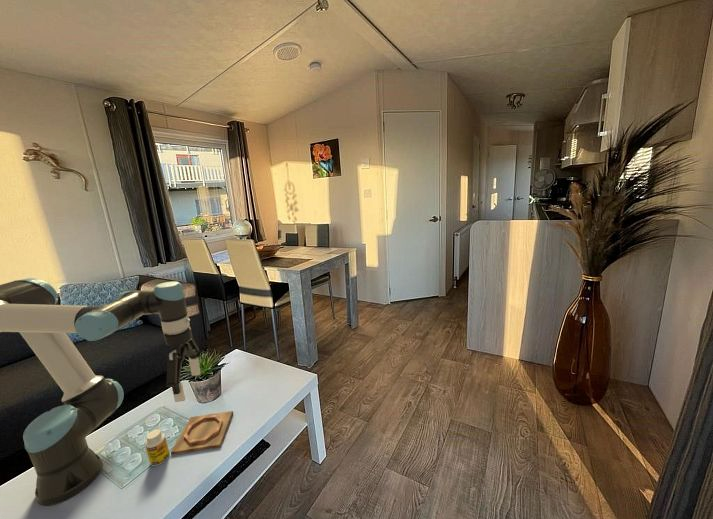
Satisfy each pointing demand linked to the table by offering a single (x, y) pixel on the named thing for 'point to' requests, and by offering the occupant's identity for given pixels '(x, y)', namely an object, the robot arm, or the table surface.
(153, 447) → the supplement bottle
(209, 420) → the holder board
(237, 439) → the table surface
